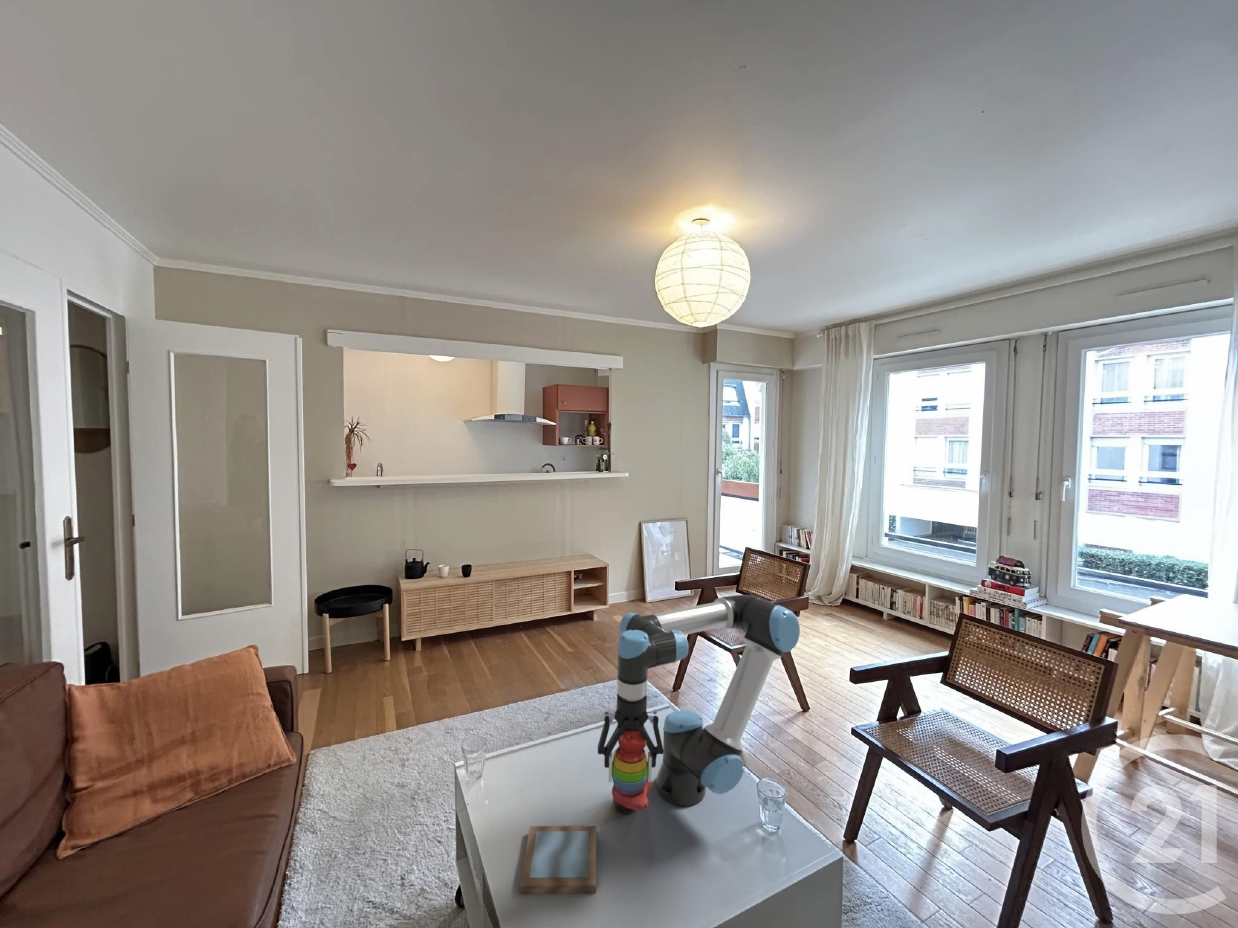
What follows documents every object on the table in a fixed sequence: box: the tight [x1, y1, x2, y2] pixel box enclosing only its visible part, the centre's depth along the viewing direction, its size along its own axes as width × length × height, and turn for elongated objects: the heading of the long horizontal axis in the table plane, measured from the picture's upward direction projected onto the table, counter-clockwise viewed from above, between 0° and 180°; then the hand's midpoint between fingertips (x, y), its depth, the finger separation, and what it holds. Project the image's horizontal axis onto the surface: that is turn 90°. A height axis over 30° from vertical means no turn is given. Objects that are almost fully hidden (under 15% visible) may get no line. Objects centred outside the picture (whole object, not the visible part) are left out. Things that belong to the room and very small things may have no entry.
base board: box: [519, 825, 597, 895], centre depth 130 cm, size 18×18×2 cm
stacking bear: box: [611, 730, 653, 812], centre depth 129 cm, size 11×10×18 cm
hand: (629, 778), depth 130 cm, fingers closed on stacking bear, 9 cm apart
